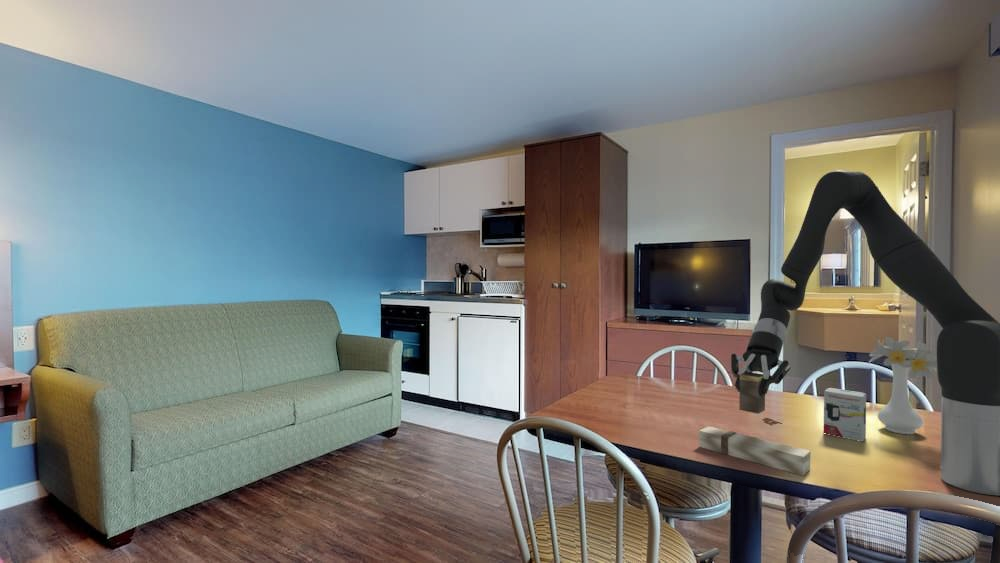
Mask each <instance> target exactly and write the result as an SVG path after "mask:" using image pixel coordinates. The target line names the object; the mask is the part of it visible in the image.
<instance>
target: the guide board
mask: <svg viewBox="0 0 1000 563" xmlns="http://www.w3.org/2000/svg"><path fill="white" fill-rule="evenodd" d="M698 431H699V433H698V434H699V435H698V436H699V437H698V438H699V440H698V442H699V444H698V445H699V447H700V448H703V449H707V450H709V451H714V452H717V453H721V454H723V455H727V456H731V457H734V458H738V459H742V460H745V461H749V462H753V463H756V464H760V465H764V466H766V467H771V468H774V469H777V470H782V471H784V470H785V472H789V473H792V474H795V475H799V476H802V477H804V476H805V475H806V474H807V473H808V472H809V471H810V470H811V450H808V449H804V448H799V447H796V446H792V445H787V444H784V443H779V442H775V441H772V440H771V441H770V440H767V439H763V438H758V437H755V436H750V435H746V434H743V433H737V432H735V431H731V430H726V429H720V428H717V427H713V426H708V425H707V426H705V427H704V428H702V429H700V430H698ZM809 469H810V470H809ZM808 470H809V471H808ZM806 472H807V473H806Z"/></svg>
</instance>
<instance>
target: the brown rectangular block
mask: <svg viewBox="0 0 1000 563" xmlns="http://www.w3.org/2000/svg"><path fill="white" fill-rule="evenodd" d="M762 379H763V373H756V372H752V373H751V372H745V373H742V374H740V392H739V408H738V409H739V411H743V412H747V413H752V414H757V415H758V414H761V413H763V412H764V411H766V395H765V394H764V395H763V396H760V395H759V393H758V389H759V386H760V383H761V381H762Z"/></svg>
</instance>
